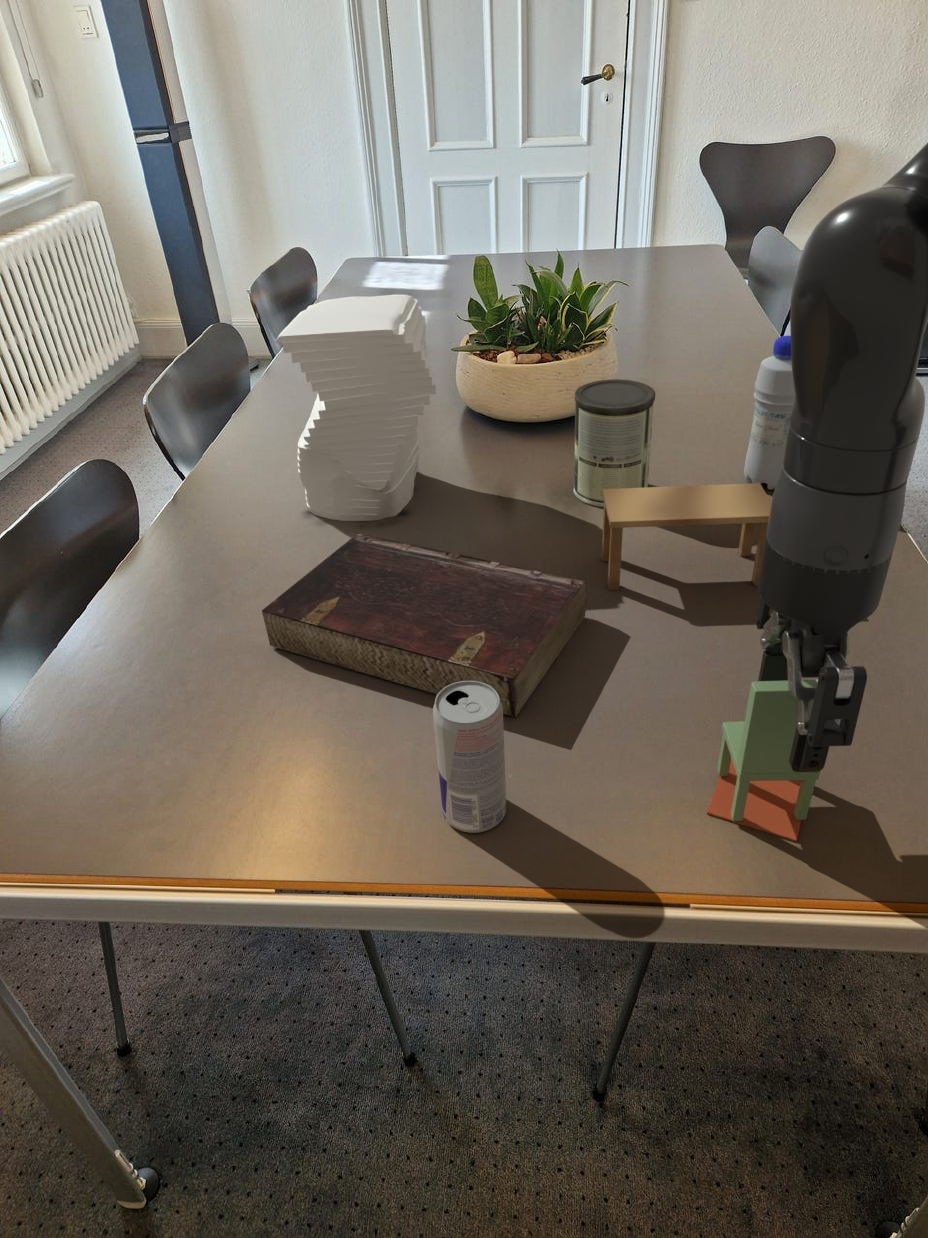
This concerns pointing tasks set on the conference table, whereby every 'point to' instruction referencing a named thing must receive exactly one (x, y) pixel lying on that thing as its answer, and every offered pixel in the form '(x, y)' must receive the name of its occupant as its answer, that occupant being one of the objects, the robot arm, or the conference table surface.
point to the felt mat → (760, 804)
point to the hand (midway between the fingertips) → (787, 727)
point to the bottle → (771, 416)
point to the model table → (683, 515)
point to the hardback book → (429, 617)
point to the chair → (765, 745)
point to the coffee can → (611, 437)
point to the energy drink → (470, 755)
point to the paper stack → (361, 403)
